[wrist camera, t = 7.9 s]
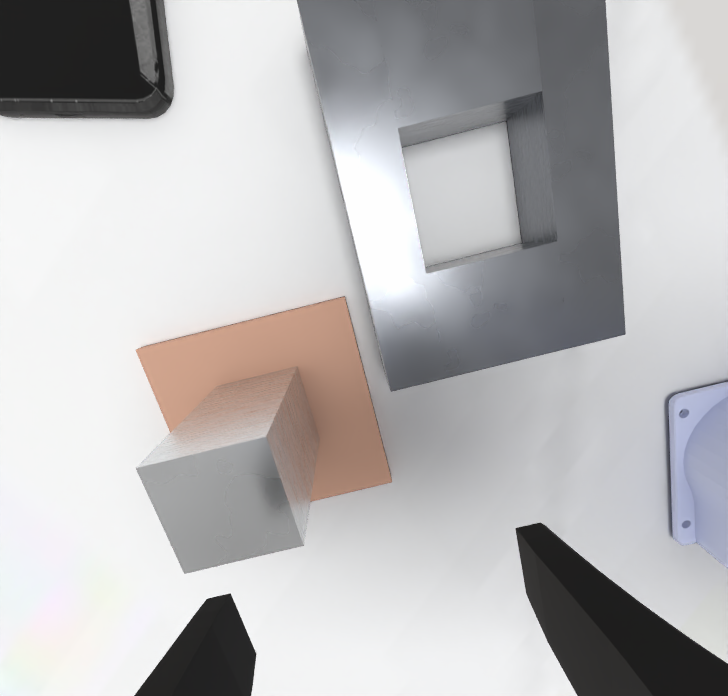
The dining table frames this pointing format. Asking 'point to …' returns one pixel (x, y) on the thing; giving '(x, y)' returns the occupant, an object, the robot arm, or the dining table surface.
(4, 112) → the phone
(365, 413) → the mat
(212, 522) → the steel peg
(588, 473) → the dining table surface
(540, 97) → the socket plate
